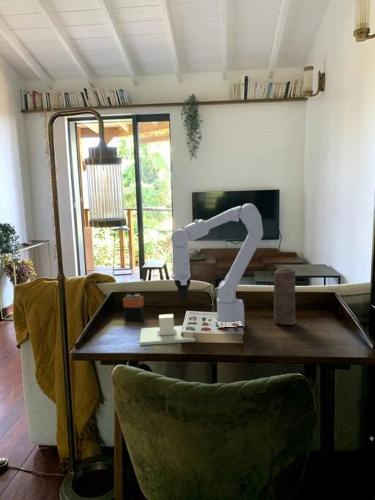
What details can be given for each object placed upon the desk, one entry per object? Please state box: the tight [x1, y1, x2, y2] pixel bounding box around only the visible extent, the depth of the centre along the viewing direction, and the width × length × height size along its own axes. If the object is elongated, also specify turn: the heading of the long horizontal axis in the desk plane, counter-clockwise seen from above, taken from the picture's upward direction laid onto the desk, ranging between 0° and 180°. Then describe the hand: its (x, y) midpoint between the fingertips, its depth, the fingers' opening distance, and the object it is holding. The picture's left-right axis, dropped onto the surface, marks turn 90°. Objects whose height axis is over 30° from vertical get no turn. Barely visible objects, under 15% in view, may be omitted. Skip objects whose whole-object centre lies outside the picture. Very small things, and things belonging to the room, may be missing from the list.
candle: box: [273, 267, 296, 326], centre depth 136 cm, size 8×7×20 cm
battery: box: [122, 293, 146, 323], centre depth 147 cm, size 4×7×10 cm, turn 76°
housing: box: [158, 313, 175, 335], centre depth 131 cm, size 5×3×6 cm
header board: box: [139, 325, 196, 346], centre depth 131 cm, size 18×12×4 cm, turn 94°
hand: (183, 299), depth 140 cm, fingers closed
